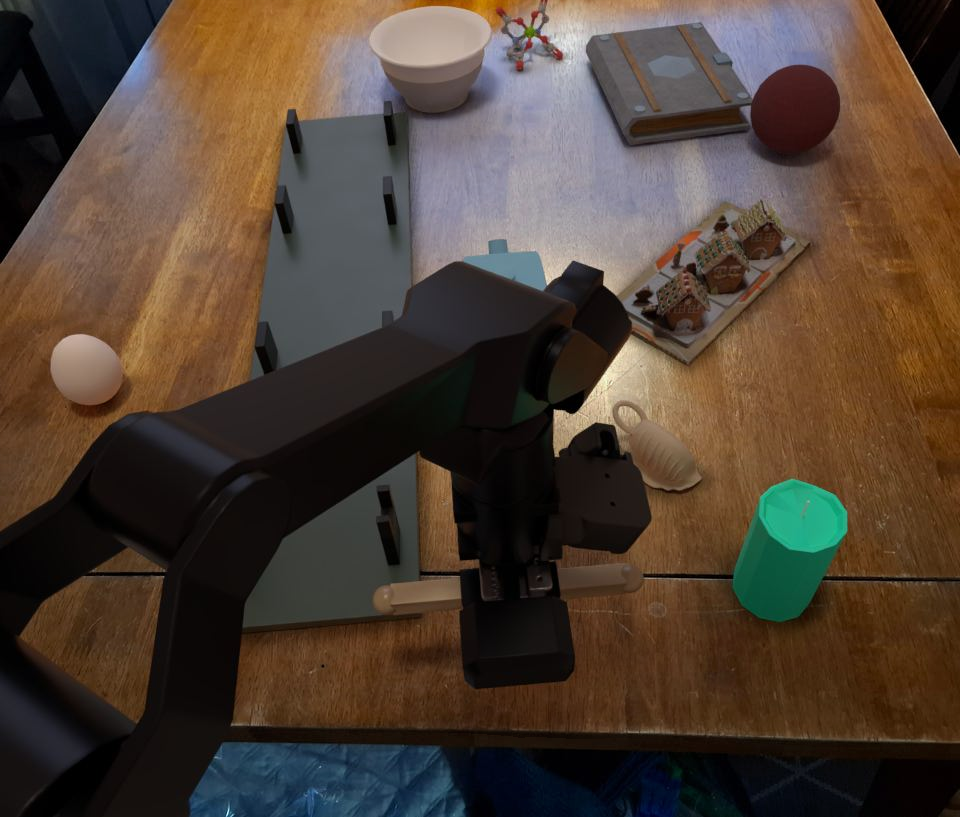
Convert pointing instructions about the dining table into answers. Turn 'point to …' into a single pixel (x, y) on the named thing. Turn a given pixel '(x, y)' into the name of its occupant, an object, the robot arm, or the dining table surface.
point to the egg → (86, 369)
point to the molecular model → (527, 34)
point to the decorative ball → (795, 109)
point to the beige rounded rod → (449, 591)
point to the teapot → (511, 264)
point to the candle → (788, 549)
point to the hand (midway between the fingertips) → (508, 596)
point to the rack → (325, 324)
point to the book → (668, 83)
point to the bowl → (432, 54)
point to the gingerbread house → (709, 279)
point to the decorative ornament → (658, 453)
